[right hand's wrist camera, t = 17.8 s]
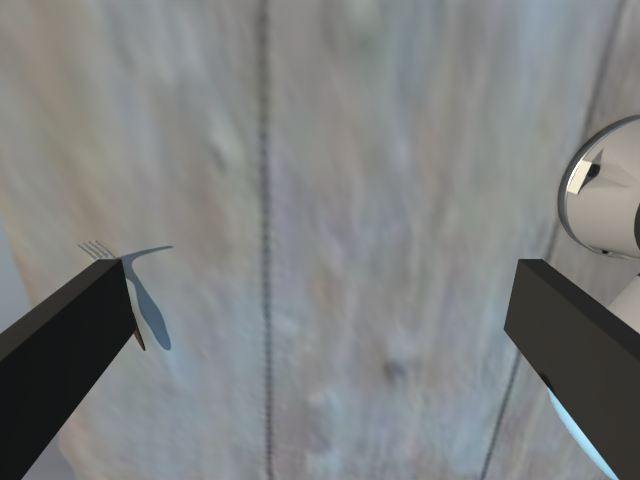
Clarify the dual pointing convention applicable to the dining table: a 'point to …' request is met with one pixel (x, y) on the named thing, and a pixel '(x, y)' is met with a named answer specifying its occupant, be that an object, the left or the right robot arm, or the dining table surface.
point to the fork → (110, 256)
